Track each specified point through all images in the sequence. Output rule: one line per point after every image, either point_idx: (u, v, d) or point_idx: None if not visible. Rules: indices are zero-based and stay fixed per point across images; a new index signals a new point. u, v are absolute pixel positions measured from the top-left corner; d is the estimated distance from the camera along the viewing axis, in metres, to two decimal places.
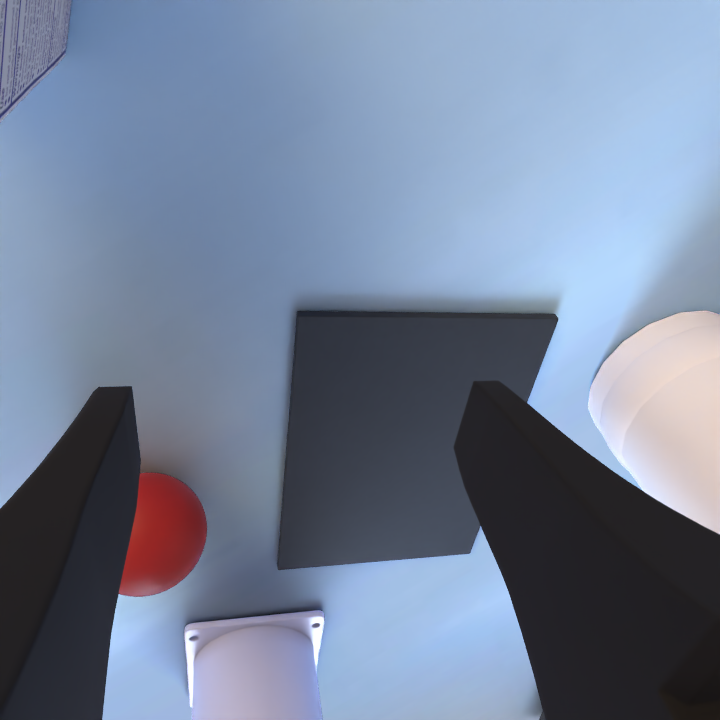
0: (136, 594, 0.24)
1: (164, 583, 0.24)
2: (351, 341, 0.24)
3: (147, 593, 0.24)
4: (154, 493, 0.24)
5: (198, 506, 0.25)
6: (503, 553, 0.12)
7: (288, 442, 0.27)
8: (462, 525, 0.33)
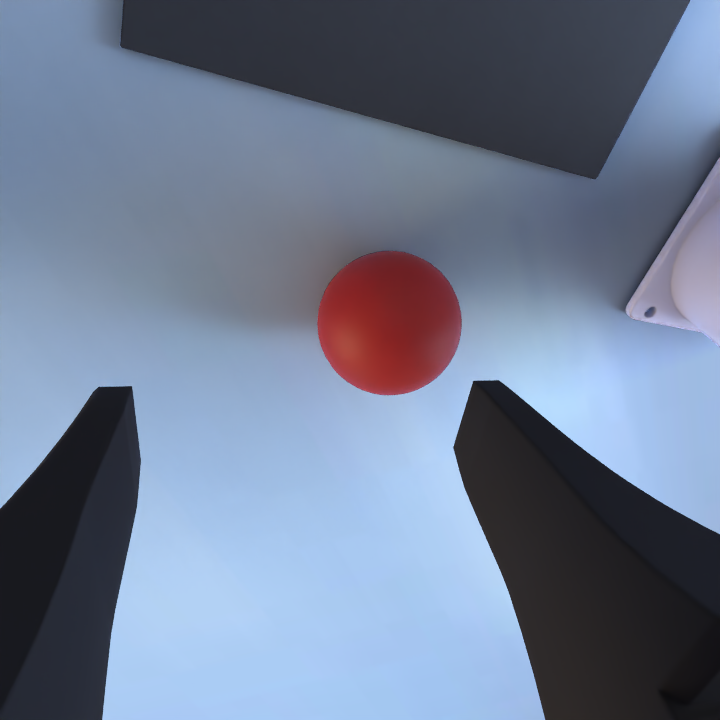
0: (425, 371, 0.19)
1: (424, 341, 0.19)
2: None
3: (430, 361, 0.19)
4: (326, 300, 0.20)
5: (376, 258, 0.20)
6: (503, 553, 0.12)
7: (350, 110, 0.18)
8: None
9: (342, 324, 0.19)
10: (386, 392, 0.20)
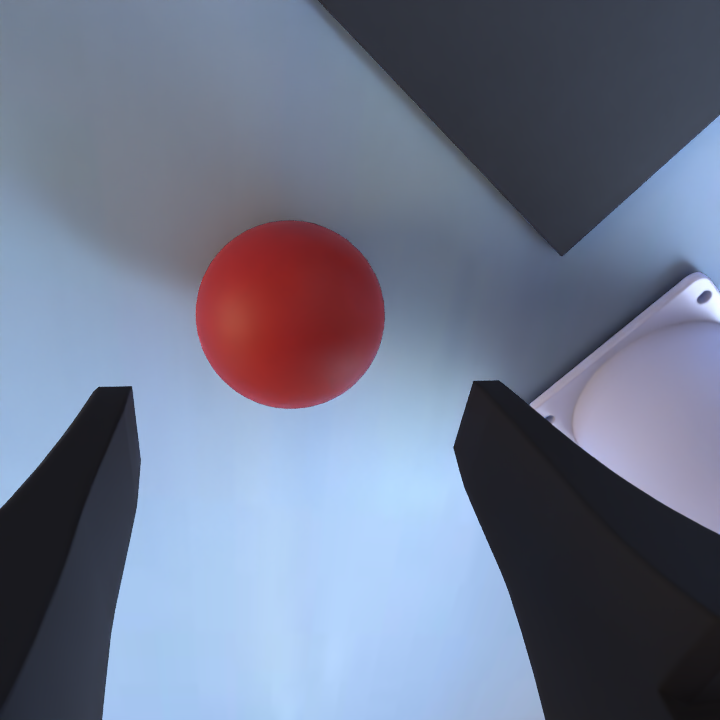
0: (320, 388, 0.15)
1: (335, 348, 0.14)
2: None
3: (331, 377, 0.15)
4: (228, 251, 0.15)
5: (311, 227, 0.15)
6: (503, 553, 0.12)
7: (353, 35, 0.14)
8: None
9: (240, 286, 0.14)
10: (258, 397, 0.15)
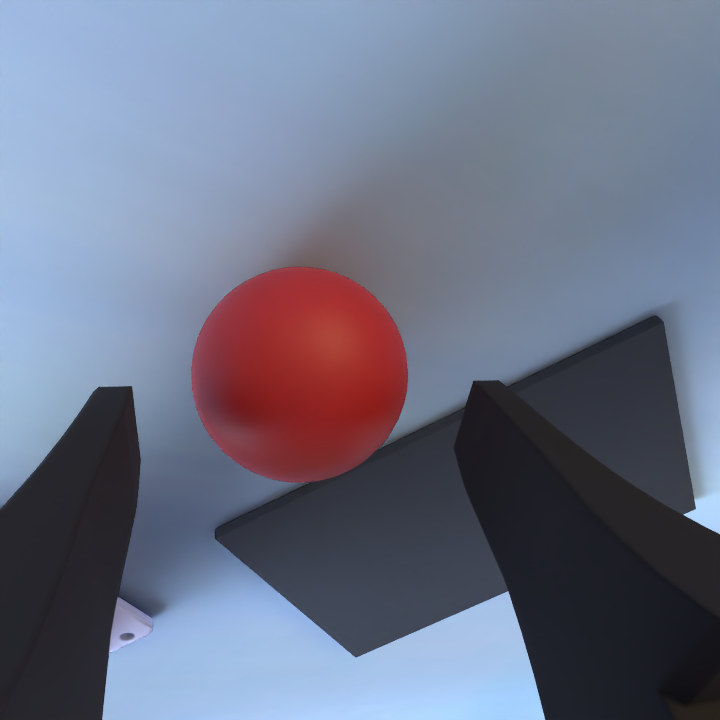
0: (276, 455, 0.12)
1: (320, 472, 0.13)
2: (638, 385, 0.20)
3: (286, 467, 0.12)
4: None
5: None
6: (503, 553, 0.12)
7: None
8: (398, 625, 0.26)
9: (400, 381, 0.13)
10: (277, 384, 0.12)
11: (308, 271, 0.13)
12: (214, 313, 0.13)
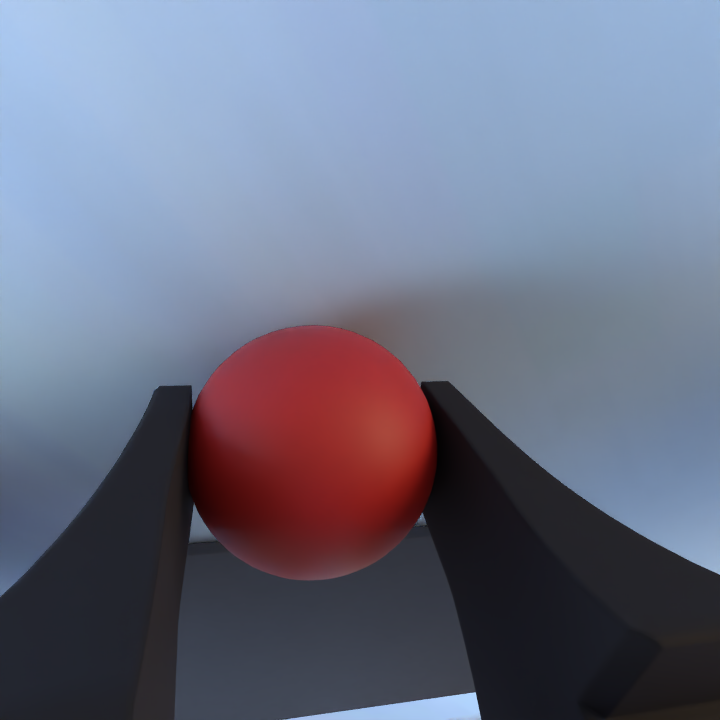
0: (285, 543, 0.10)
1: (306, 574, 0.11)
2: None
3: (284, 558, 0.10)
4: None
5: None
6: (448, 558, 0.12)
7: None
8: None
9: None
10: (339, 468, 0.10)
11: (388, 352, 0.12)
12: (277, 347, 0.11)
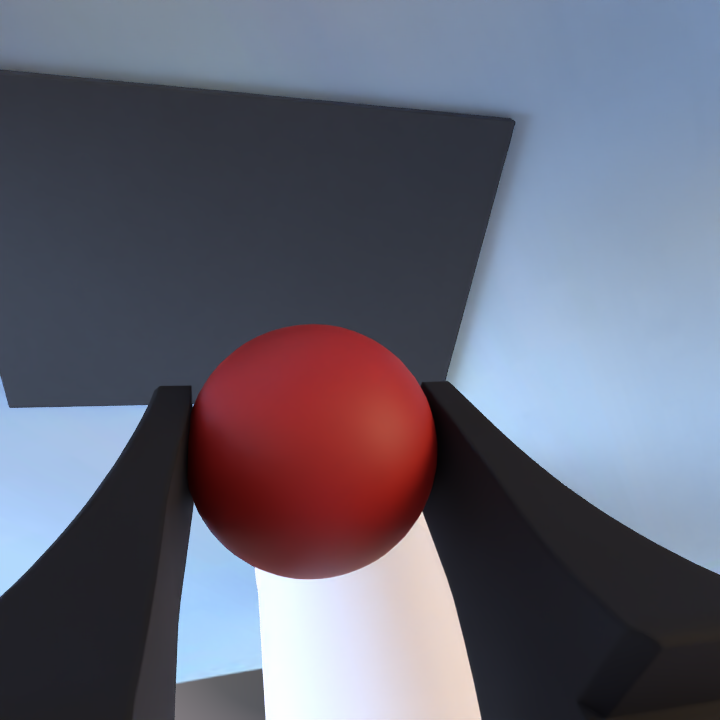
0: (285, 542, 0.10)
1: (306, 574, 0.11)
2: (463, 189, 0.19)
3: (283, 557, 0.10)
4: None
5: None
6: (448, 558, 0.12)
7: (297, 101, 0.17)
8: (86, 382, 0.21)
9: None
10: (339, 467, 0.10)
11: (388, 351, 0.12)
12: (277, 346, 0.11)
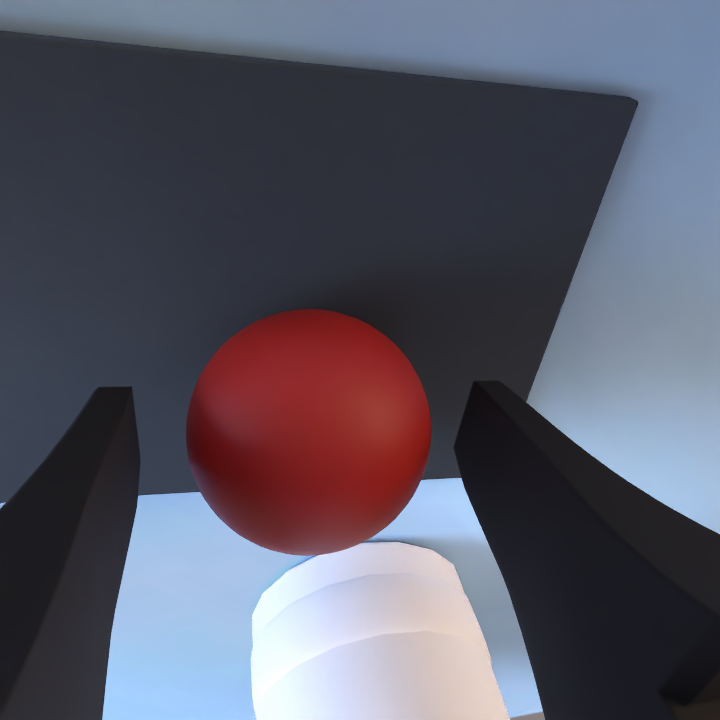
0: (282, 513, 0.10)
1: (303, 548, 0.11)
2: (554, 202, 0.13)
3: (281, 529, 0.11)
4: None
5: None
6: (503, 553, 0.12)
7: (315, 68, 0.11)
8: (15, 472, 0.15)
9: None
10: (334, 439, 0.10)
11: (382, 334, 0.12)
12: (275, 327, 0.11)
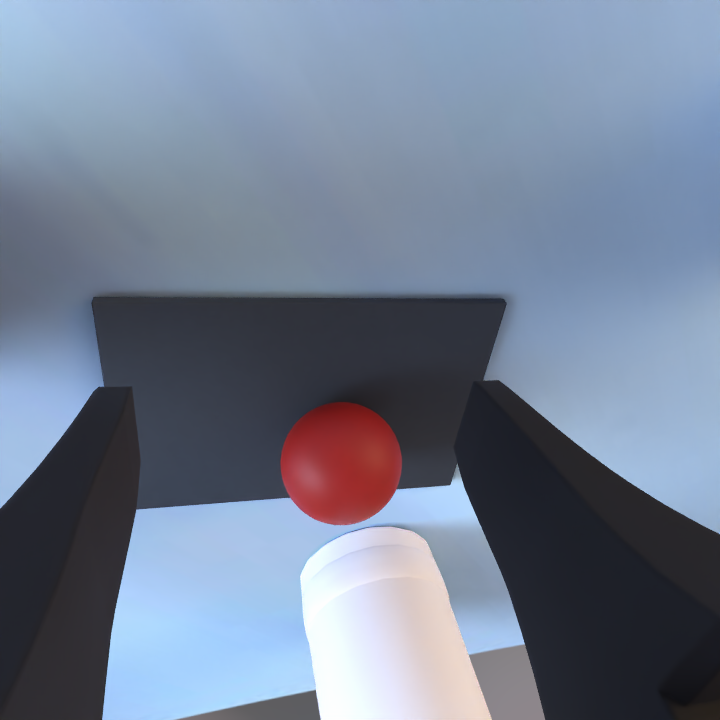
0: (326, 497, 0.22)
1: (335, 517, 0.23)
2: (468, 347, 0.26)
3: (325, 505, 0.23)
4: None
5: None
6: (503, 553, 0.12)
7: (351, 302, 0.23)
8: (182, 489, 0.27)
9: (394, 492, 0.24)
10: (351, 463, 0.22)
11: (378, 415, 0.24)
12: (326, 411, 0.24)
